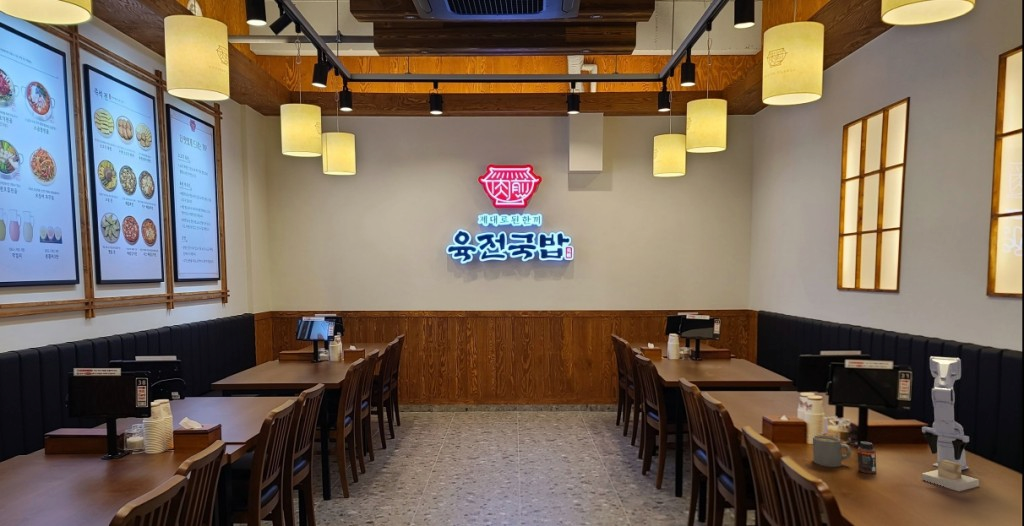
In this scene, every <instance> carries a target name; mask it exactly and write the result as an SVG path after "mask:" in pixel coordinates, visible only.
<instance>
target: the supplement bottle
mask: <svg viewBox="0 0 1024 526" xmlns="http://www.w3.org/2000/svg"><path fill="white" fill-rule="evenodd" d="M859 444H860V446H859V447H858V448H857V464H858V465H857V467H858V470H859V471H860V472H862V473H865V474H870V475H871V474H872V475H873V474H876V473H877V456H876V455H877V453H876V450H875V448H874V447H873V443H872V442H869V441H866V440H865V441H860V443H859Z"/></svg>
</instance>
